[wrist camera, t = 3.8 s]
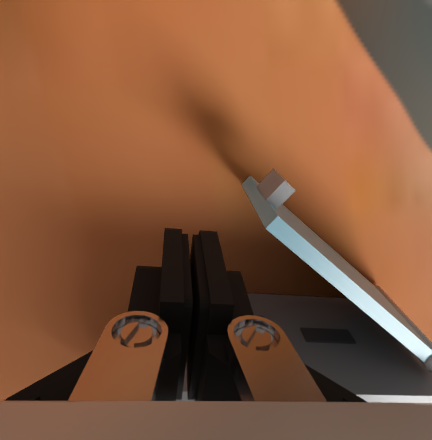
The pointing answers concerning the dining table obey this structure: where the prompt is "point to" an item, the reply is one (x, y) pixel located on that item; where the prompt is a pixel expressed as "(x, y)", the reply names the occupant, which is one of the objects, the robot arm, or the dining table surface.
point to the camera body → (346, 347)
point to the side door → (332, 263)
